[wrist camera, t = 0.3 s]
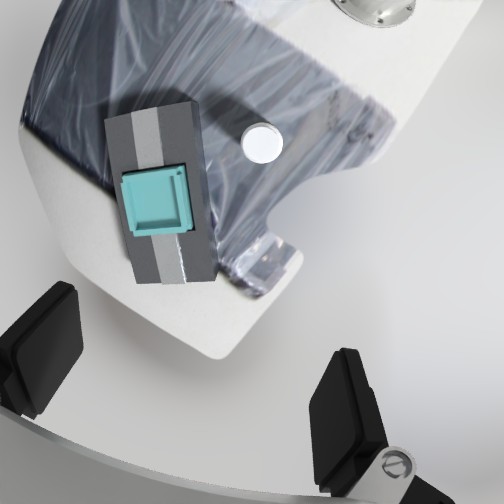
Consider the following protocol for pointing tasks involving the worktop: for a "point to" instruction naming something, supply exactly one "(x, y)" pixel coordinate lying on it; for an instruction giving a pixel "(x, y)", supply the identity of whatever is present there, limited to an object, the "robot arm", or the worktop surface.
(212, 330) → the worktop surface
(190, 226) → the tray
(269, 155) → the supplement bottle
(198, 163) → the block
